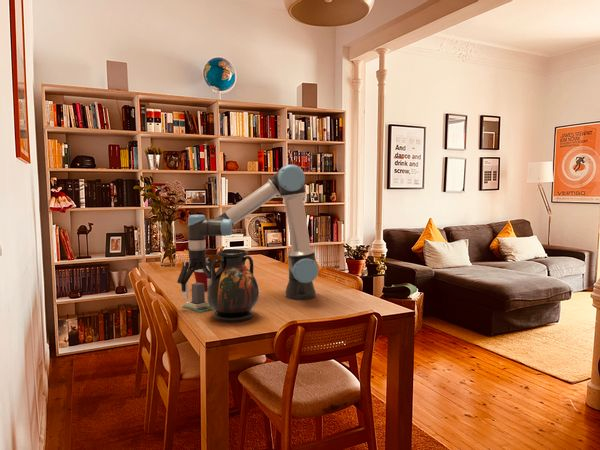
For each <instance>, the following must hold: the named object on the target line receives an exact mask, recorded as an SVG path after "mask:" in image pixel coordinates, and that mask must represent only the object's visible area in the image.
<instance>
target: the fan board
mask: <svg viewBox="0 0 600 450" xmlns="http://www.w3.org/2000/svg"><path fill="white" fill-rule="evenodd" d="M184 304H185V305H182V308H184V309H187V310H191V311H194V312H197V313H200V314H201V313H204V312H208V311H212V310H214V309H213V308H212V307H211V306H210V304H209V302H208V300H205V303H201V304H193V303H192V297H191V298H189V301H185V302H184Z"/></svg>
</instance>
